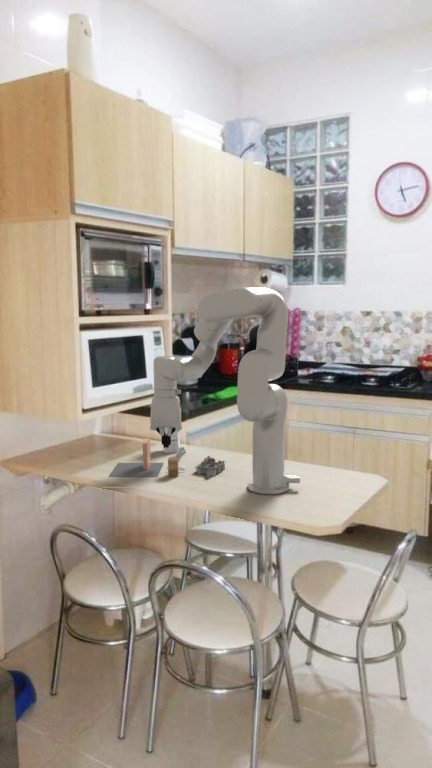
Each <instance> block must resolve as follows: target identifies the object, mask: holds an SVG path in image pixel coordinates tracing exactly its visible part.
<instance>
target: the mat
mask: <svg viewBox="0 0 432 768" xmlns="http://www.w3.org/2000/svg"><path fill="white" fill-rule="evenodd" d="M163 466H164V462H151V465H150V466H149V468H148V470H144V469H143V462H117V464H116V465H115V466H114V468H113V470H112V471H111V472H110V473H109V475H108V476H107V477H108V478H158V477H159V475H160V472H161V470H162V467H163Z"/></svg>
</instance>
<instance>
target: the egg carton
mask: <svg viewBox="0 0 432 768" xmlns="http://www.w3.org/2000/svg"><path fill="white" fill-rule="evenodd" d="M226 462H227V461H225V460H222V461H221V459H219V460H218V461H216V459H215V458H213V457H211V456H210V455H209V456H208V455H207V456H206V457H204V460H202V461H201V462H200V463H198V464H197V465H196V466H195V467H194V469H196V473H197V474H198V475H203V474H204V476H207V477H216V475H217V474H220V473H221V471H225V470H226V467H225V465H226Z"/></svg>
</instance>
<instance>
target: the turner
mask: <svg viewBox="0 0 432 768" xmlns="http://www.w3.org/2000/svg"><path fill="white" fill-rule="evenodd" d="M185 470H186V465H179V462H178V457H170V456H169V457H168V459H167V467H166V470H165V473H167V476H168V478H178V477H179V474H180V473H185Z"/></svg>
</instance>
